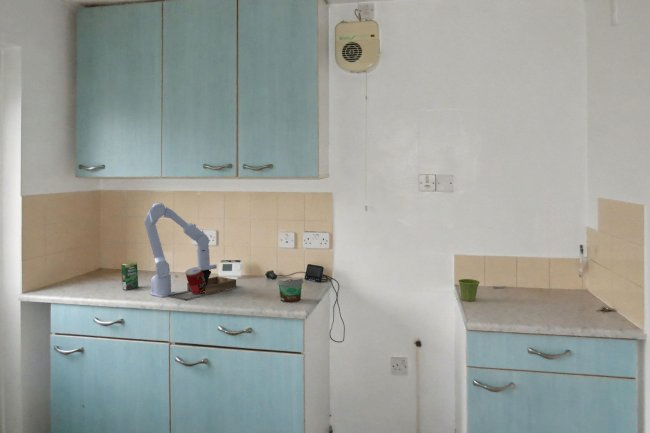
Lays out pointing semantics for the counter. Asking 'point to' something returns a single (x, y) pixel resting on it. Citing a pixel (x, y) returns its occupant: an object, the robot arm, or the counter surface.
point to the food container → (290, 290)
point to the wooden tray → (217, 285)
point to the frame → (185, 298)
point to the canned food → (196, 280)
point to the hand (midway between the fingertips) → (205, 285)
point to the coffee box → (129, 276)
